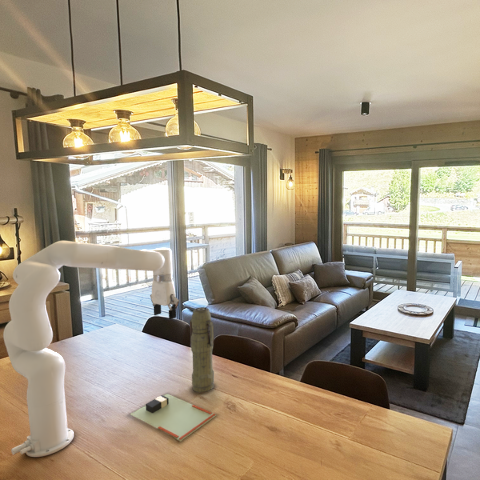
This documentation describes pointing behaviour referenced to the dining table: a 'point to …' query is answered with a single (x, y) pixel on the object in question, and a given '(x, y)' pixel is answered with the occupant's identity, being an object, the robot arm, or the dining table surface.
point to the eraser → (157, 404)
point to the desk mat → (176, 417)
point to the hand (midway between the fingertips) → (165, 316)
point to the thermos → (202, 349)
